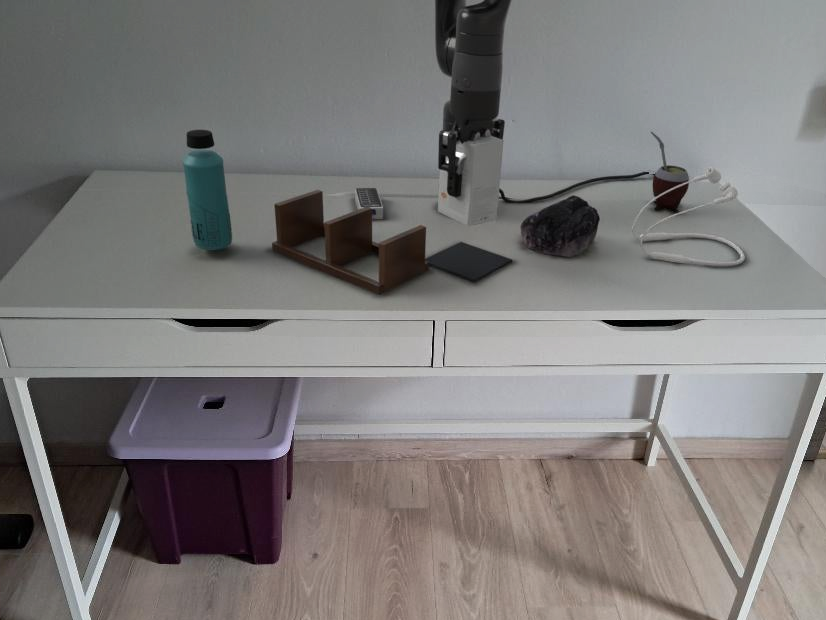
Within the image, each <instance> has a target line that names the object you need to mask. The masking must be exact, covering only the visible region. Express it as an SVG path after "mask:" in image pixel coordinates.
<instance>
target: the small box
mask: <svg viewBox="0 0 826 620" xmlns="http://www.w3.org/2000/svg"><path fill="white" fill-rule="evenodd" d="M504 140H505V139H503V140H501V139H499V138H496V137H493V136H490V137H487V138H485V137H480V138H479V140H476V141H466V142H464V143H463V144H461V141H460V140H459V139H458V144H457V145H456V152H460V153H464V154H465V155H466V159H465V160H464V164H463V170H462V173H461V174H462V185H461V196H459V197H457V198H456V197H453V196H450V195H448V193H447V178H448V173H447V171H444V170H440V169H439V179H438V180H439V181H438V198H437V199H438V200H437V212H438V213H440V214H442V215H444V216H446V217H448V218H450V219H452V220H454V221H456V222H458V223H460V224H461V225H464V226H466V227H472V226H477V225H480V224H485V223H488V222H492V221H496V220H497V219H498V209H499V200H500V199H499V198H500V197H499V196H500V193H499V188H500V187H501V175H502V164H503V163H502V162H503V152H504ZM447 161H448V157H446V163H447ZM458 162H459V158H456V166H457V164H458ZM500 189H501V188H500Z"/></svg>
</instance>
